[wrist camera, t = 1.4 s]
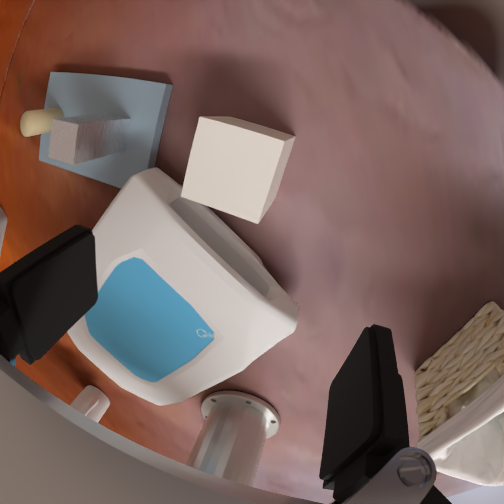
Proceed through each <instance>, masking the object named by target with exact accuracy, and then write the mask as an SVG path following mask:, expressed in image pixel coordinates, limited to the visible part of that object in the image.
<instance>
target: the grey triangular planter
mask: <svg viewBox="0 0 504 504" xmlns="http://www.w3.org/2000/svg"><path fill="white" fill-rule="evenodd" d="M6 225H7V216H6V214H5V213H4V211H3V210H2V208H1V207H0V254H1V249H2V244H3V239H4V234H5V229H6Z"/></svg>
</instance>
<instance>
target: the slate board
mask: <svg viewBox="0 0 504 504" xmlns="http://www.w3.org/2000/svg"><path fill="white" fill-rule="evenodd" d="M172 88H173V85H170V84H164V83H158V82H152V81H146V80H139V79H132V78H124V77H116V76H107V75H96V74H84V73H69V72H51V73H50V78H49V83H48V89H47V94H46V100H45V107H44V109H40V110H32V111H26V112H25V113H24V114H23V115H22V117H21V121H20V129H21V132H22V134H23V135H24V136H25V137H28V136H33V135H38V134H41V140H40V151H39V161H42V162H45V163H48V164H51V165H54V166H57V167H60V168H63V169H66V170H69V171H72V172H75V173H77V174H80V175H83V176H86V177H89V178H92V179H95V180H98V181H101V182H103V183H106V184H109V185H112V186H115V187H118V188H121V189H122V187H123V186H124V185H125V183H126V182H127V181H128V179H129V178H130V177H131V176H133V175H135V174H137V173H140V172H142V171H144V170H147V169H151V168H155V163H156V158H157V153H158V148H159V143H160V138H161V134H162V129H163V125H164V121H165V116H166V112H167V108H168V104H169V100H170V96H171V92H172ZM104 113H106V114H111V115H116V116H121V117H126V118H130V119H131V121H130V126H129V132H128V137H127V143H126V148H125V152H121V153H117V154H113V155H109V156H105V157H101V158H97V159H94V160H90V161H86V162H83V163H79V164H76V165H71V164H68V163H65V162H62V161H59V160H56V159H53V158H49V157H48V156H49V145H50V135H51V126H52V119H57V118H64V117H73V116H82V115H92V114H104Z"/></svg>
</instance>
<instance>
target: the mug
mask: <svg viewBox="0 0 504 504" xmlns="http://www.w3.org/2000/svg"><path fill="white" fill-rule="evenodd" d="M109 405H110V401H109V399H108V397H107V396H106V395H105V394H104V393H103V392H102V391H101V390H99V389H98V388H96V387H94V386H92V385H88V386H86V387H85V388H84V390H83V391H82V392H81V393H80V394H79V395H78V396H77V398H76V399H75V400H74V401H73V402H72V403H71V405H70V406H71V407H72V408H74V409H75V410H77V411H78V412H80V413H82V414H83V415H85V416H87V417H88V418H90V419H92V420H94V421H95V422H97V423H98V422H99V420H100V419H101V417H102V416H103V414H104V413H105V411H106V410H107V408H108V407H109Z"/></svg>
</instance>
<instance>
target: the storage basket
mask: <svg viewBox="0 0 504 504" xmlns="http://www.w3.org/2000/svg"><path fill="white" fill-rule="evenodd" d="M422 369H424V370H422ZM414 378H415V389H416V390H417V391H416V395H415V396H416V401H417V407H416V412H417V415H418V424H419V427H418V429H419V432H420V433H419V442H417V444H416V446H415V447H416V448H419V449H422V450H424V451H425V452H427V453H428V454H429V455H430V457H431V458H432V459H433V461H434V463H435V465H436V471H438V472H441V473H444V474H446V475H449V476H452V477H456V478H460V479H463V480H467V481H470V482H473V483H476V484H479V485H484V486H502V485H504V310H501V309H500V307H499V306H498V305H497V304H496V303H495V302H493V301H491V302H489V303H487V304H485V305H484V306H483V307H482V308H481V309H480V310H479V311H478V312H477V313H476V314H475V316H474V317H473V318H472V319H470V320H469V321H468V322H467V323H466V324H465V326H464V327H463V328H462V329H461V330H460V331H458V332H457V333H456V334H455V335H454V336H453V337H452V338H451V339H450V340H449V341H448V342H447V343H446V344H444V345H443V346H442V347H441V348H440V349H439V350H438V351H437V352H436V353H435V354H434V355H433V356H432V357H429V358H428V359H427V360H426V361H425V362H424V363H423V364H422V365H421V366H420V367H419V368H418V369H417V370H416V372H415V373H414Z"/></svg>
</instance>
